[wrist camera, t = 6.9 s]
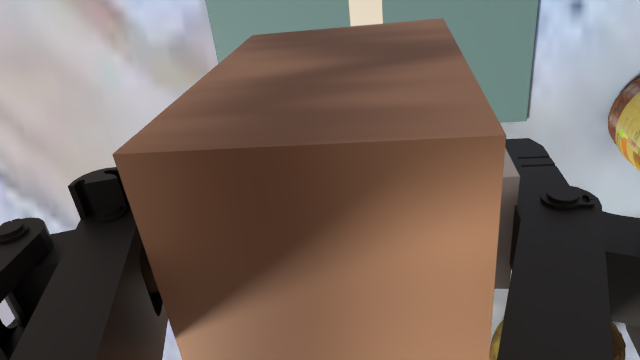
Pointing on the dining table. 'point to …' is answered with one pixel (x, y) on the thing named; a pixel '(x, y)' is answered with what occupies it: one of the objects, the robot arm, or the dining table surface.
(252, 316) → the wooden block
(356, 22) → the letter card
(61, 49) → the dining table surface
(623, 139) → the sauce bottle
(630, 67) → the dining table surface
